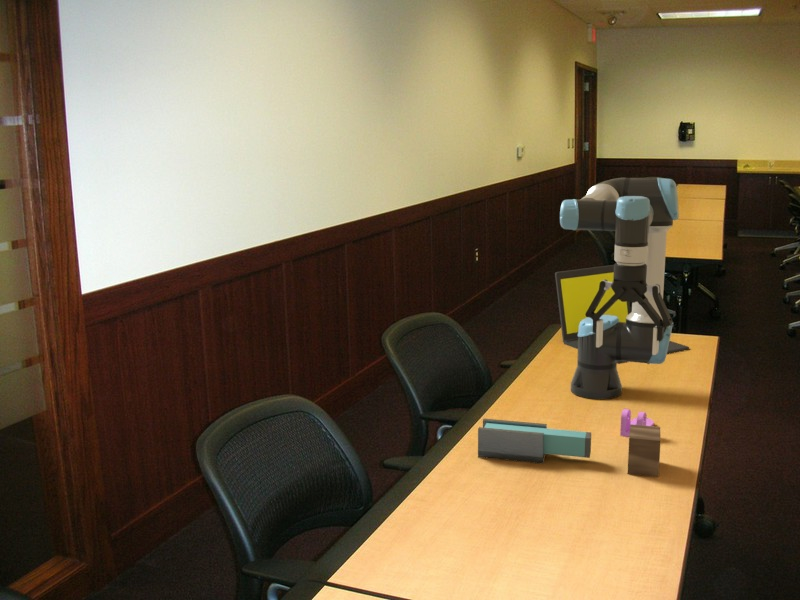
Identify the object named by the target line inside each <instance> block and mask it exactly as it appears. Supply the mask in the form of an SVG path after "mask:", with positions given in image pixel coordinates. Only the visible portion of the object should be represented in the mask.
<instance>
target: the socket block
mask: <svg viewBox="0 0 800 600" xmlns="http://www.w3.org/2000/svg"><path fill="white" fill-rule="evenodd" d="M660 457H661V427H660V426H643V425H631V424H630V434H629V437H628V455H627V475H636V476H643V477H644V476H645V477H653V478H659V477H660V476H659V475H660Z"/></svg>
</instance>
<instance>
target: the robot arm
mask: <svg viewBox="0 0 800 600" xmlns="http://www.w3.org/2000/svg"><path fill="white" fill-rule="evenodd" d="M559 210H560V211H559V224H560V227H561V228H562V229H563V230H572V231H603V232H604V231H605V232H615V235H614V236H615V237H614V257H613V258H614V261H615V263H614V264H613V265H614V276H613V282H608V281H607V280H603V281H601V282H600V285H599V291H598V292H597V294H596V296H595V298H594V299H593V301H592V303H591V305H590V307H589V308H588V310H587V312H586V314H585V315H586V317H588V318H585V319H583V320H582V321H581V322H580V323H579V330H578V349H577V364H576V368H575V371H574V374H573V376H572V379H571V382H570V392H572V393H573V395H576V396H578V397H581V398H585V399H590V400H591V399H592V400H609V399H613V398H617V397H618V398H619V396H621V394H622V393H623V392H622V389H623V387H622V386H623V385H622V383H621V378H620V376H619V371H618V368H617V366H618V365H617V361H627V362H626V363H629V362H630V363H637V364H638V363H639V364H647V365H650V364H651V365H652V364H654V365H655V364H656V365H661V364H663V363H665V361H666V359H667V355H668V354H667V351H668V346H669V341H671V337H672V329H673V326H672V324H673V323H674V322H673V319H672V317H671V315H670V312H669V310H668V308H667V305H666V302H665V300H664V288H665V286H664V285H665V270H666V269H665V268H666V252H667V251H666V250H667V233H668V231H669V230H670V229H671V228H673V226H674V221H676V220H678V219H679V215H680V214H679V212H680V211H679V198H678V188H677V184H676V182H675V181H674V179H672V178H664V177H663V178H662V177H618V178H617V177H616V178H612V179H609V180H608V179H607V180H604V181H601V182H598V183H596V184H595V185H593V186H591V187H590V188H589V189H588V191H587V193H586V195H584V196H583V197H581V199H575V198H573V199H564V200H562V201H561V205H560V209H559ZM610 287H611V288H612V290H613V291H614V293H615V294H614V295H613V296H612V297H611V298H610V300H609V301H608V302H607V303H606V304H605V305H604V306H603V307H602V308H601V309H600V310H599V311H598V312H597V313H594V311H595V310H596V308H597V306H598V304H599V303H600V301H601V299H602V297H603V296H604V294H605V292H606V290H608V289H609V288H610ZM618 299H619V300H621V302H626V301H628V302H630V304H631V313H630V314H629V315H628V316H627V317H626V322H619V319H618V317H617V316H612V315H603V314H604V313H605V312H606V311H607V310H608V309H609V308H610V307H611V306H612V305H613V304H614V303H615V302H616V301H617V300H618Z"/></svg>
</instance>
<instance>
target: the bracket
mask: <svg viewBox="0 0 800 600" xmlns="http://www.w3.org/2000/svg"><path fill="white" fill-rule="evenodd" d="M647 416H648V415H647V412H645V411H639V412H638V413H637V417H634V418H633V419H631V417H632V412H631V409H628V408H623V410H622V411H621V416H620V431H619V432H620V437H625V438H629V434H630V424H631V425H643V426H654V420H653V419H651V418H649V417H648V418H647Z"/></svg>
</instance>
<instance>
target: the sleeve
mask: <svg viewBox="0 0 800 600" xmlns="http://www.w3.org/2000/svg"><path fill="white" fill-rule="evenodd" d="M486 423H492V424H503V425H514V426H525V427H536V428H547V429H548V424H547V423H539V422H538V423H537V422H530V421H529V422H528V421H514V420H505V419H504V420H503V419H493V418H483V420H482V427H481V426H479V427H478V429H477V458H480V459H494V460H503V461H512V462H522V463H530V464H539V465H540V464H542V465H543V463H544V460H545V458H546V455H547V454H544V453H543V450H544V433H537V432H526V431H515V430H504V429H494V428H484V427H485V425H486Z"/></svg>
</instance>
